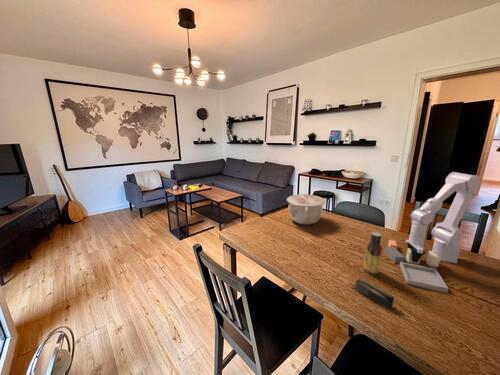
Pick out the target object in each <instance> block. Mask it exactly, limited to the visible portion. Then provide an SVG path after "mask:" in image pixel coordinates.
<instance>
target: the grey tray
mask: <svg viewBox="0 0 500 375" xmlns="http://www.w3.org/2000/svg"><path fill="white" fill-rule="evenodd" d="M399 268H400V270H401V273H402V276H403V278H404V280H405V283H406V285H410V286H414V287H417V288H423V289H426V290H427V289H428V290H431V291H436V292H442V293H446V294H448V292H449V287H448V286H447V284H446V282H445V280H444V279H443V277H442V276H441V275H440V273H439V271H438V270H437V269H436V267H431V266H429V267H428V266H423V265H419V264H415V263H409V262H404V263H403V262H400V263H399Z"/></svg>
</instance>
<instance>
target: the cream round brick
mask: <svg viewBox="0 0 500 375" xmlns="http://www.w3.org/2000/svg"><path fill="white" fill-rule="evenodd" d="M440 258H441V257H440V256H439V255H437V254H434V253H429V252H428V254H427V257H426V263H425V264H426V265H428V266H429V267H430V268H439V266H440V261H441V260H440Z"/></svg>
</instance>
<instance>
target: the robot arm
mask: <svg viewBox="0 0 500 375" xmlns="http://www.w3.org/2000/svg"><path fill="white" fill-rule="evenodd" d="M481 183H482V182H481V178H480V177H479V176H478V175H475V174H474V175H473V174H467V173H461V172H457V171H452V172H451V173H449V174H448V175H447V176H446V178H445V184H444V185H443V186H442V187H441V188H440V190H439V191H438V192H437V193H436V195H435V196H434V197H431V198H428V199H427V200H426V201H425V202H424V203H423V204H422V205H421V206H420V207H419V208H418V209H415V210H413V211H412V212H411V214H410V215H409V217H410V220H411V228H410V233H409V236H408V239H406V240H405V242H406V244H407V249H408V248H410V250H411V253H412V262H416V263H417V262H418V261H419V259H420V260H421V258H422V257H423V256H424V255H426V251H425V250H424V246H425V239H426V234H427V229H428V225H429V224H430V223H431V222H433V219H434V217H435V214H436V213H437V212H438V211H439V210H440V209H441V208H442V207H443V202H444V201H445V200H446V199H448V198H449V197H450V196H451V195H453V194H454V193H455V192H456V195H455V196H454V198H453V201H452V203H451V205H450V207H449V209H448V211H447V214H446V215H445V218H444V220H443V221H441V222H437V223H436V224H435V226H434V227H433V228H432V229H431V236H432V237H433V238H432V239H433V240H434V242H433V246H432V249H431V250H428V251H427V252H428V253H434V254H437V255H439V256H440V257H441V258H440V261H441V262H442V261H443V262H447V263H453V264H458V263H459V262H458V259H459V257H460V256H459V255H460V253H461V247H460V244H459V243H460V242H461V240H462V234H463V231H462V230H461V229H460V227H459V223H460V222H461V220H462V218H463V216H464V214H465V212H466V210H467V207H468V206H469V203H470V201H471V199H472V198H473V195H474V194H476V193H477V191H478V189H479V187H480V186H481Z"/></svg>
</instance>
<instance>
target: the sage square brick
mask: <svg viewBox="0 0 500 375" xmlns="http://www.w3.org/2000/svg"><path fill="white" fill-rule="evenodd" d="M405 259H406V261H407V263H408V264H414V265H419V264H420V262H421V258H420V259H419V261H418V262H417V263H416V262H412V253H411V250H410V248H408V247H407V251H406V256H405Z"/></svg>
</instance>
